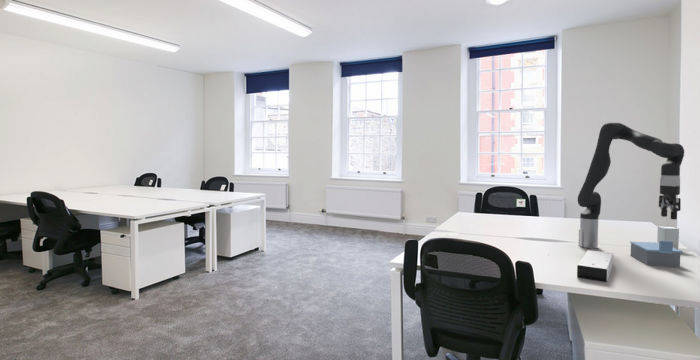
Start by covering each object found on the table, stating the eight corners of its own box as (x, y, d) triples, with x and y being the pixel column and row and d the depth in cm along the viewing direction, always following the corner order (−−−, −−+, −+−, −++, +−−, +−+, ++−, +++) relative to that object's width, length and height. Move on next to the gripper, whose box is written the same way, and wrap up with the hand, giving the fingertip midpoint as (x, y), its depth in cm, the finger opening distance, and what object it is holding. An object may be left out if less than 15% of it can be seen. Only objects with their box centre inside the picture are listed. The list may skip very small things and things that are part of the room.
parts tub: (646, 264, 192) (647, 251, 191) (630, 255, 209) (631, 243, 209) (679, 266, 188) (680, 252, 188) (660, 257, 206) (661, 244, 205)
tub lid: (649, 254, 189) (649, 240, 188) (630, 244, 209) (630, 232, 209) (684, 256, 185) (685, 242, 185) (661, 246, 205) (662, 233, 205)
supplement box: (678, 250, 219) (679, 228, 218) (663, 250, 221) (664, 228, 220) (670, 247, 226) (671, 226, 225) (656, 247, 228) (657, 226, 227)
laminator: (606, 283, 167) (606, 269, 166) (574, 278, 174) (574, 264, 174) (613, 265, 193) (613, 253, 193) (584, 261, 201) (585, 249, 201)
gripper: (653, 183, 194) (652, 215, 195) (668, 185, 180) (667, 220, 181) (670, 183, 192) (669, 215, 193) (687, 185, 178) (686, 220, 179)
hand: (668, 217), depth 187 cm, fingers open, 8 cm apart
